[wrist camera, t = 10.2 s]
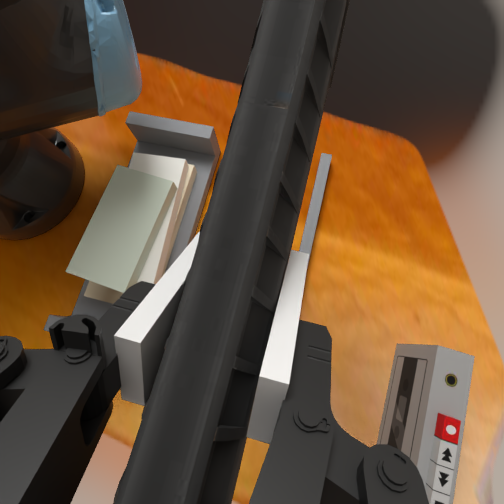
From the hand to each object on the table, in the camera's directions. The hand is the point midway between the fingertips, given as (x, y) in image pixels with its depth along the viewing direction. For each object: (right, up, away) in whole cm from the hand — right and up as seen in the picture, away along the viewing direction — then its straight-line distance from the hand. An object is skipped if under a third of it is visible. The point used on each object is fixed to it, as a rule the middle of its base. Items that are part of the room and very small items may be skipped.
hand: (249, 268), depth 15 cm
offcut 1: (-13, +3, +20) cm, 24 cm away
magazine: (-1, -4, +3) cm, 5 cm away
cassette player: (+14, -16, +18) cm, 28 cm away
